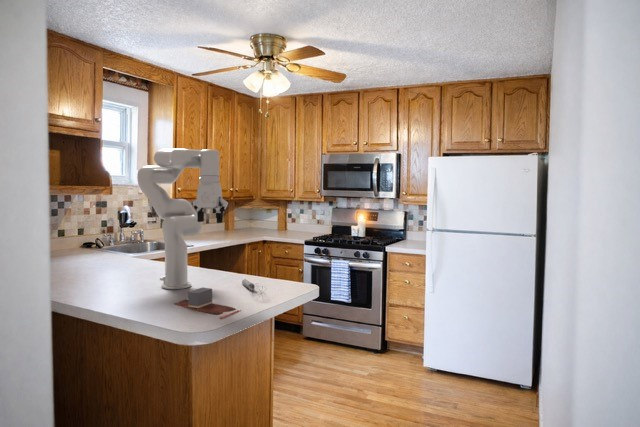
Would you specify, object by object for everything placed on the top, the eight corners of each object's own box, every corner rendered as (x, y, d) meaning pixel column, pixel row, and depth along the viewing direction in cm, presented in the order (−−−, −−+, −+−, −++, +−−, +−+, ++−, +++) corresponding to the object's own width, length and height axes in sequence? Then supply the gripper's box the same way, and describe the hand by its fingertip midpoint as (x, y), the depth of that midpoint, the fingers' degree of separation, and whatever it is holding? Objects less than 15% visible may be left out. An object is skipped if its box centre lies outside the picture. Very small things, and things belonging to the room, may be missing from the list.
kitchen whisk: (249, 283, 208) (249, 270, 207) (268, 301, 176) (268, 285, 176) (236, 284, 205) (236, 270, 205) (253, 302, 174) (253, 286, 174)
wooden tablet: (237, 311, 163) (237, 306, 163) (217, 317, 155) (217, 312, 155) (189, 300, 178) (189, 296, 178) (168, 305, 170) (168, 301, 169)
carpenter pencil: (219, 319, 151) (219, 317, 151) (239, 310, 161) (239, 308, 161) (221, 319, 151) (221, 317, 150) (241, 311, 161) (241, 309, 161)
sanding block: (188, 306, 162) (188, 291, 162) (202, 301, 170) (202, 287, 169) (197, 308, 160) (197, 293, 160) (212, 303, 168) (212, 288, 167)
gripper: (186, 180, 180) (187, 222, 181) (221, 180, 173) (221, 223, 174) (199, 180, 187) (199, 220, 188) (232, 180, 180) (233, 222, 181)
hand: (210, 222), depth 181 cm, fingers open, 9 cm apart
